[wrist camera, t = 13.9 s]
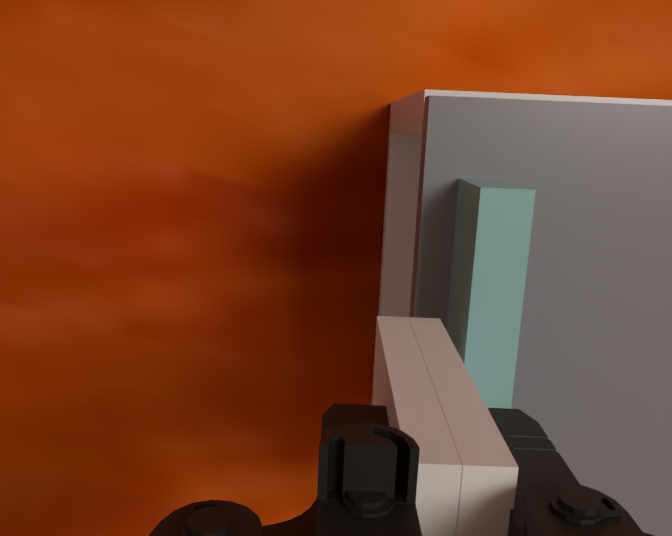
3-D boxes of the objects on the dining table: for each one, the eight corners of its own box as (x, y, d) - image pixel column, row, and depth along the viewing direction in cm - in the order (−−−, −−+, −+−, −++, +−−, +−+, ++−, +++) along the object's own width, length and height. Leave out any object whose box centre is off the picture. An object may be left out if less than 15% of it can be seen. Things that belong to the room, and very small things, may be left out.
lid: (393, 536, 19) (405, 616, 16) (424, 97, 16) (446, 89, 13) (717, 547, 19) (791, 629, 16) (805, 113, 16) (918, 110, 13)
